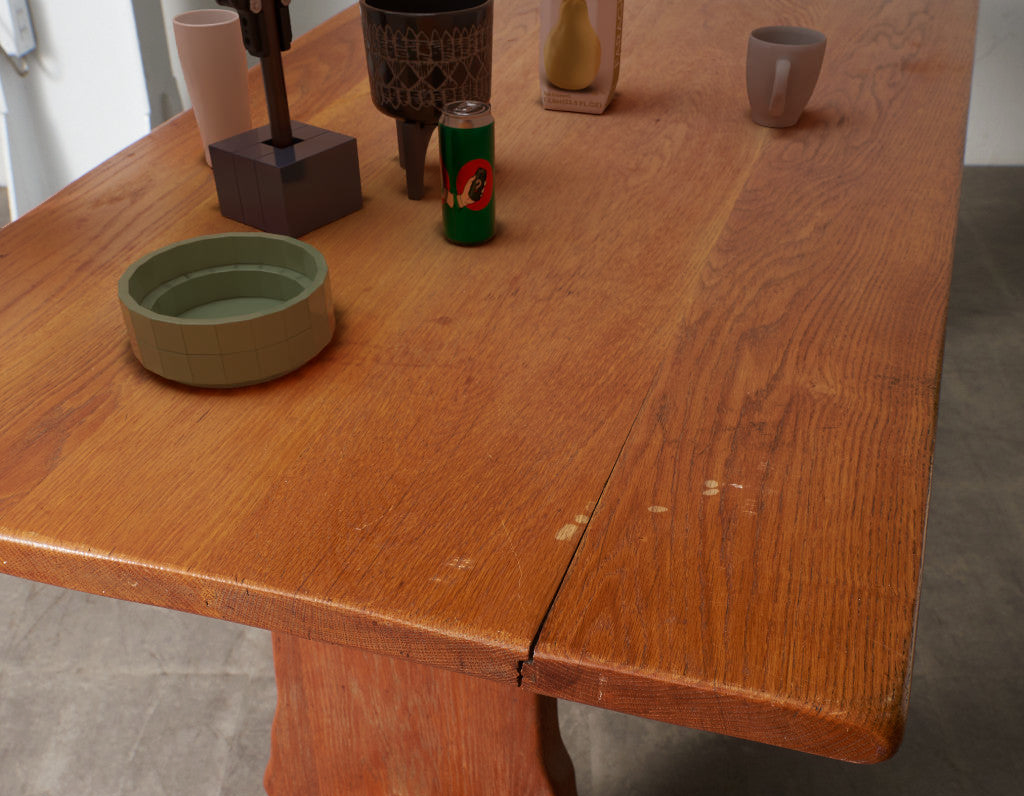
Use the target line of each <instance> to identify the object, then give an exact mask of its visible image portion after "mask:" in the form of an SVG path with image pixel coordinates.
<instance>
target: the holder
mask: <svg viewBox="0 0 1024 796" xmlns="http://www.w3.org/2000/svg"><path fill="white" fill-rule="evenodd" d="M290 120H291V127H292V135H293V142H294V145H292V146H290V147H287V148H284V149H282V150H281V149H279V148H276V147H273V144H272V137H271V131H270V124H269V123H267V124H266V123H265V124H264V125H261V126H258V127H256V128H252V130H249V131H247V132H244V133H241V134H238V135H235V136H232V137H230V138H227V139H224V140H221V141H218V142H215V143H213V144H210V145H208V148H209V153H210V158H211V164H212V168H211V169H212V174H213V179H214V184H215V189H216V194H217V201H218V205H219V211H220V215H221V216H223V217H224V218H228V219H230V220H233V221H236V222H239V223H241V224H245V225H247V226H249V227H253V228H255V229H258V230H260V231H263V232H265V233H271V234H277V235H284V236H288V237H292V238H294V239H297V238H299V237H301V236H304V235H306V234H308V233H310V232H312V231H315V230H317V229H320V228H321V227H323V226H325V225H328V224H330V223H332V222H335V221H337V220H339V219H340V218H344V217H345V216H347V215H349V214H351V213H354V212H356V211H359V210H361V209H363V208H364V199H363V192H362V181H361V171H360V161H359V150H358V139H357V137H354V136H351V135H348V134H344V133H341V132H338V131H333V130H330V129H327V128H323V127H319V126H317V125H313V124H309V123H305V122H302V121H299V120H295V119H291V118H290Z"/></svg>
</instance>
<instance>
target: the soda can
mask: <svg viewBox="0 0 1024 796" xmlns="http://www.w3.org/2000/svg"><path fill="white" fill-rule="evenodd" d="M441 111H442V114H441V115H440V117H439V119H438V127H437V136H438V137H437V138H438V154H439V155H438V158H439V159H438V160H439V176H440V177H439V178H440V179H439V180H440V193H441V194H440V197H441V201H440V202H441V215H442V216H441V218H442V219H441V221H442V233H443V235H444V236H445V238H447V240H448V241H449V242H451V243H452V244H456V245H458V246H459V245H460V246H467V247H469V246H471V247H472V246H478V245H483V244H485V243H487V242H489V241H490V240H491V239H492V238H493V237H494V236H495V235H496V233H497V219H496V218H497V210H496V209H497V207H496V205H497V203H496V201H497V200H496V137H495V136H496V135H495V134H496V133H495V131H496V128H495V126H496V125H495V124H496V123H495V118H494V116H493V115H492V112H491V113H490V107H489V105H487V104H485V103H482V102H478V101H455V102H451V103H448V104H445V105H444V106H443V107H442V109H441Z"/></svg>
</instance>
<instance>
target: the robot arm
mask: <svg viewBox="0 0 1024 796" xmlns="http://www.w3.org/2000/svg"><path fill="white" fill-rule="evenodd" d="M214 1H215V3H216V4H217V5H218V6H221V7H227V8H231V9H234V10H235V11H236V13H237V14H238V15H239V21H240V27H241V32H242V37H243V38H242V40H243V45H244V47H245V50H246V51H247V53H248V54H249V55H250V56H251V57H254V58H258V59H260V58H264V57H268V56H269V55H270V50H269V43H268V36H267V29H266V22H265V15H264V13H263V12H260V11H261V8H262V3H261V0H214ZM291 2H292V0H274V3H275V11H276V18H277V25H278V32H279V40H280V47H281V53H285V52H287V51H290V50H291V49H292V44H291V43H293V42H292V41H293V29H292V24H291V23H292V22H291V14H290V13H291V12H290V4H291Z"/></svg>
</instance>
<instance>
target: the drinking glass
mask: <svg viewBox="0 0 1024 796" xmlns="http://www.w3.org/2000/svg"><path fill="white" fill-rule="evenodd" d="M172 25H173V26H172V27H173V33H174V40H175V45H176V50H177V55H178V59H179V63H180V68H181V71H182V75H183V79H184V82H185V86H186V89H187V93H188V96H189V100H190V104H191V107H192V110H193V114H194V117H195V121H196V124H197V128H198V132H199V136H200V139H201V144H202V147H203V152H204V158H205V162H206V163H207V165H208V166H209V167H210V168H211V169H212V164H211V158H210V153H209V148H208V145H210V144H213V143H215V142H218V141H221V140H224V139H227V138H230V137H232V136H235V135H238V134H241V133H244V132H247V131H249V130H252V129H253V123H252V110H251V109H252V108H251V98H250V96H251V95H250V84H249V83H250V82H249V69H248V59H247V58H248V57H247V50H246V49H245V47H244V45H243V40H242V38H243V37H242V32H241V27H240V21H239V15H238V12H235V11H233V10H229V9H220V8H219V9H217V8H210V9H208V8H206V9H196V10H189V11H185V12H181V13H178V14H177V15H175V16H174V17H173V18H172Z"/></svg>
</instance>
